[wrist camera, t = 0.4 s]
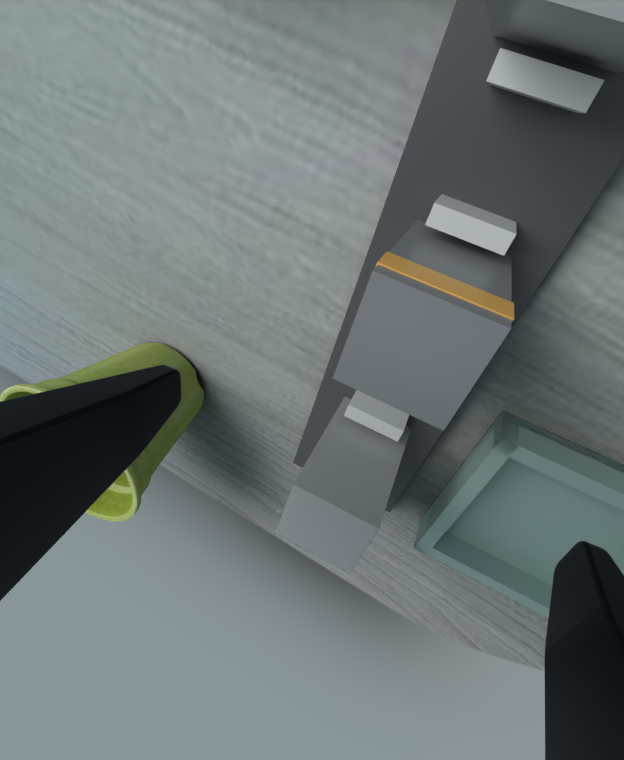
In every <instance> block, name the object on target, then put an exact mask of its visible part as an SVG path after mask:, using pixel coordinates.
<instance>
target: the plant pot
mask: <svg viewBox="0 0 624 760" xmlns="http://www.w3.org/2000/svg"><path fill="white" fill-rule="evenodd" d="M158 365H168V366H170V367H173V368H175V369H177V370H178V371H179V372H180V374H181V394H182V396H181V401H180V404H179V405H178V407H177V408H176V410H175V411H174V412H173V413H172V415H171V416H170V417H169V419H168V420H167V421H166V422H165V424H164V425H163V426H162V428H161V429H160V430H159V432H158V433H157V434H156V435H155V437H154V438H153V439H152V441H151V442H150V443H149V444H148V446H147V447H146V448H145V449H144V451H143V452H142V453H141V454H140V455H139V456H138V457H137V458H136V460H135V461H134V462H133V463H132V464H131V465H130V466H129V467H128V468H127V469H126V470H125V471H124V472H123V473H122V474H121V475H120V476H119V477H118V478H117V479H116V480H115V481H114V483H113V484H112V485H111V486H110V487H109V488H108V489H107V490H106V491H105V492H104V493H103V494H102V495H101V496H100V497H99V498H98V499H97V500H96V501H95V502H94V503H93V504H92V506H91V507H90V508H89V509H88V510H87V511H86V513H87V514H90V515H92V516H94V517H97V518H100V519H105V520H107V521H113V522H121V521H125V520H128V519H130V518H131V517H132V516H134V514H135V513H136V512H137V511H138V509H139V506H140V503H141V495H142V494H143V492H144V491H145V490H146V488H147V487H148V485H149V482H150V479H151V475H152V474H153V473H154V471H155V470H156V469H157V467H158V466H159V464H160V463H161V462H162V460H163V459H164V457H165V456H166V455H167V453H168V452H169V451H170V449H171V448H172V446H173V445H174V444H175V442H176V441H177V440H178V438H179V437H180V436H181V434H182V433H183V432H184V430H185V429H186V428H187V426H188V425H189V424H190V422H191V421H192V420H193V418H194V417H195V416H196V414H197V413H198V412H199V411H200V409H201V408H202V405H203V402H204V390H203V389H202V388H201V386H200V385H199V383H198V380H197V376H196V371H195V369H194V368H193V366H192V365H191V364H190V363H189V362H188V361H187V360H186V359H185V358H184V357H183V356H182V355H181V354H180V353H178V352H177V351H176V350H174V349H172V348H171V347H169V346H167V345H164V344H161V343H144V344H140V345H137V346H135V347H133V348H130V349H128V350H126V351H123V352H121V353H119V354H116V355H114V356H112V357H109V358H107V359H105V360H102V361H100V362H98V363H95V364H93V365H90V366H88V367H86V368H83V369H81V370H79V371H76V372H74V373H72V374H69V375H67V376H64V377H62V378H59V379H48V380H44V381H42V382H39V383H36V384H34V385H31V384H18V385H15V386H12V387H10V388H8V389H6V390H5V391H4V392H3V393H2V394H1V396H0V402H1V401H5V400H10V399H14V398H18V397H23V396H27V395H31V394H36V393H40V392H44V391H49V390H53V389H58V388H62V387H66V386H71V385H75V384H79V383H84V382H88V381H92V380H97V379H101V378H106V377H110V376H114V375H119V374H123V373H127V372H132V371H136V370H140V369H145V368H149V367H153V366H158Z"/></svg>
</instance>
